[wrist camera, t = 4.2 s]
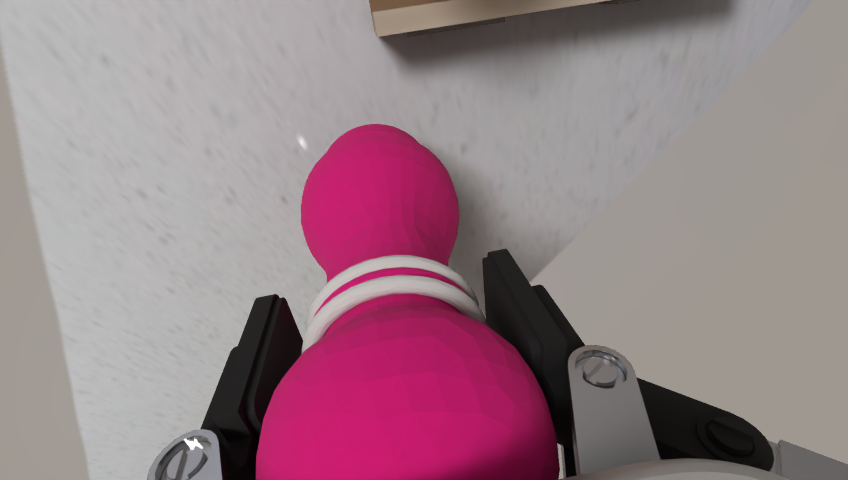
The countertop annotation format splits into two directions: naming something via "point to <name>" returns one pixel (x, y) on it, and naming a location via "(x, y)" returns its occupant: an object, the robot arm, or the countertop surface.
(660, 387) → the robot arm
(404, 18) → the shelf
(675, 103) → the countertop surface
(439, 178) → the pepper mill
